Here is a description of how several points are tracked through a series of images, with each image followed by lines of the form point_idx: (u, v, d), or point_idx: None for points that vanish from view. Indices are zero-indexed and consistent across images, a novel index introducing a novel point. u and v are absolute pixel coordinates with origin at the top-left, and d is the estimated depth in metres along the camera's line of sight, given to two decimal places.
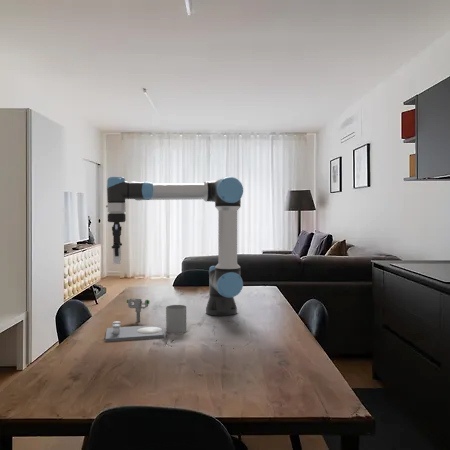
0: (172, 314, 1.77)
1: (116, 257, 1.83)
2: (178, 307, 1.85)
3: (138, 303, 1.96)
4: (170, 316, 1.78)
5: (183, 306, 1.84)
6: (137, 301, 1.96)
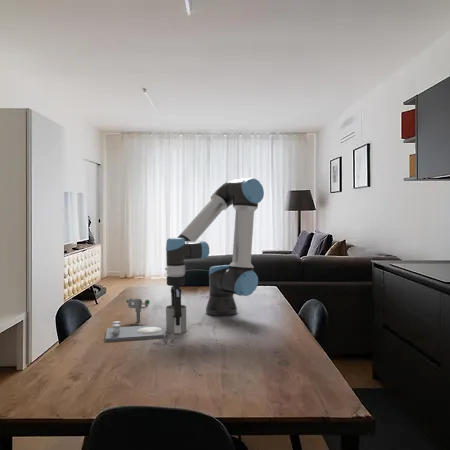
0: (172, 314, 1.77)
1: (177, 326, 1.77)
2: None
3: (138, 303, 1.96)
4: (170, 316, 1.78)
5: (183, 306, 1.84)
6: (137, 301, 1.96)
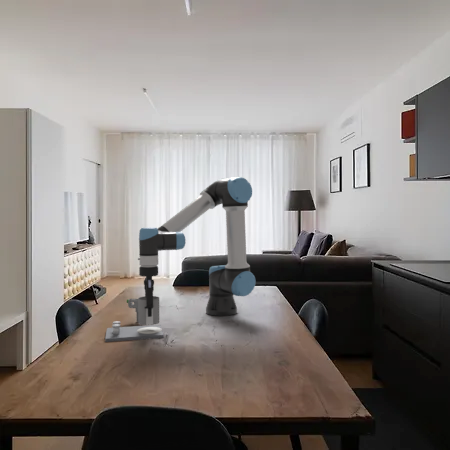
0: (143, 305, 1.74)
1: (149, 317, 1.73)
2: None
3: None
4: (142, 307, 1.74)
5: (156, 297, 1.81)
6: (137, 301, 1.96)
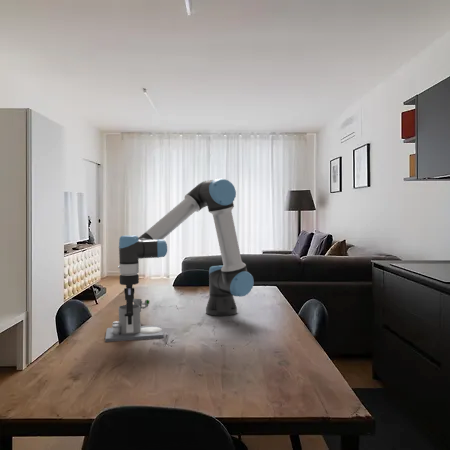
0: (124, 314, 1.72)
1: (129, 325, 1.70)
2: None
3: (138, 303, 1.96)
4: (123, 316, 1.73)
5: (137, 306, 1.79)
6: (137, 301, 1.96)
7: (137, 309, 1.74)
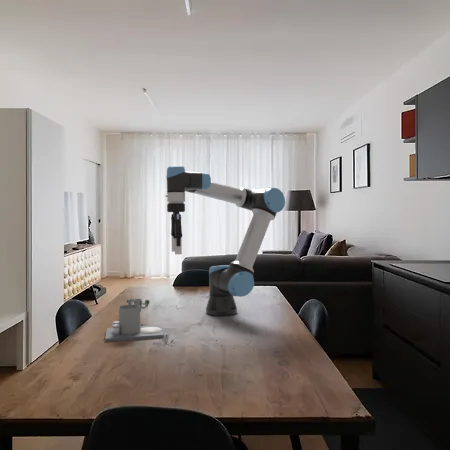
0: (124, 314, 1.72)
1: (178, 247, 1.80)
2: (132, 307, 1.80)
3: (138, 303, 1.96)
4: (123, 316, 1.73)
5: (137, 306, 1.79)
6: (137, 301, 1.96)
7: (137, 309, 1.74)
